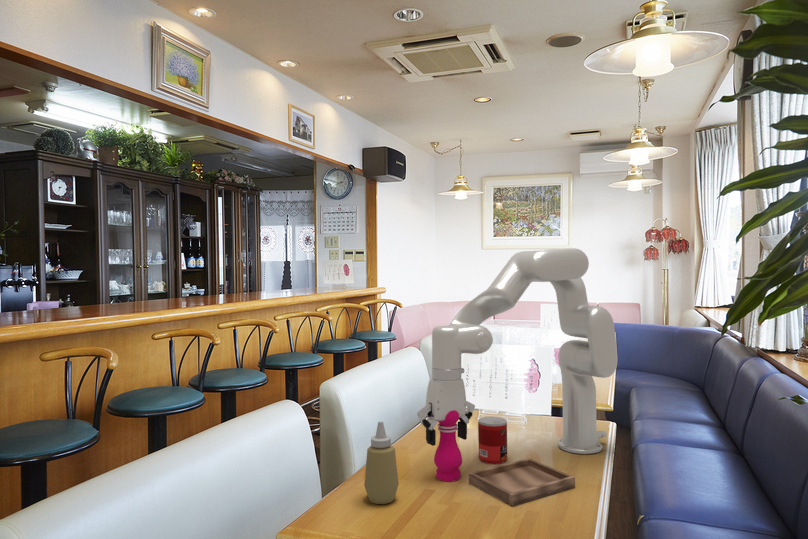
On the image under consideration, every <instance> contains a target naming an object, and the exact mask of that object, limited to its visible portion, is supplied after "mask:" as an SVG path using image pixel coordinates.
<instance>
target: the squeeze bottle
mask: <svg viewBox="0 0 808 539" xmlns="http://www.w3.org/2000/svg"><path fill="white" fill-rule="evenodd" d="M375 432H376V433H375V435H374V436H372V437H371V438H370V446H368V448H367V449H366V461H365V463H366V464H365V474H364V484H363V486H364V489H365V492H366V494H367V498H368V501H369V502H371V503H372V504H376V505H386V504H390V503H391V502H393V501H395V498H396V494H397V491H398V489H399V484H400V483H399V474H398V466H397V457H396V448H395V447H394V446H393V445H392V442H391V440H392V438H391V436H390V435H387V434H386V429H385V424H384V422H383V421H378V422H377V426H376V430H375Z"/></svg>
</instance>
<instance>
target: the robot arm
mask: <svg viewBox="0 0 808 539" xmlns="http://www.w3.org/2000/svg"><path fill="white" fill-rule="evenodd" d="M589 263H590V262H589V258H588V255H587V254H586V253H585V252H584V251H583V250H582V249H578V248H573V247H572V248H571V247H570V248H554V249H553V248H552V249H544V250H542V249H541V250H525V251H519V252H516V253H514V254H513V255H512V256H511V257H510V259H508V261H507V263H506V264H505V265H504V266H503V267H502V269H501V270H500V272H499V273H498V274H497V275H496V277H495V278H494V280H493V281H492V282H491V284H490V285H489V286H488V287H487V289H485V290H483V291H482V292H481V293H479V294H478V295H477V296H475V297H474V298H473V299H471V300H470V301H469V302H467V303H466V304H465V305H464V306H463V307H462V308H461V309H460V310H458V312H457V313H456V315H455V316H454V317H453V319H451V322H450V323H449V325H438V326H434V328H432V332H431V376H432V377H431V379H429V380H428V385H427V389H426V396H425V406H423V407H422V408H421V409H419V410H418V411H417V412H416V416H417V417H418V420H419V422H420V424H422V426H423V427H424V428H425V440H426V444H428V445H430V446H436V442H437V441H436V439H437V438H436V434H437V433H436V429H435V427H436V425H438V424H437V423H439V422H438V421H443V420H445V417H446V415H447V414H448V412H450V411H452V410H456V411H457V412H458V413H459V420H458V421H457V437H458V438H459V439H462V440H467V438H468V424H469V423H470V420H471V418H472V417H473V413H474V411H475V408H476V404H474V403H471V402H470V401H469V400H467V396H466V395H467V394H466V389H465V388H466V387H465V383H464V379H463V378H462V374H464V373H465V369H464V368H463V367H462V354H469V355H470V354H472V355H481V354H484V353H486V352H487V351H488V350H489V349H490V348H491V347H492V344H493V340H494V339H493V335H492V333H491V331H490V330H489V329H488V328H487V327H485V326H482V325H481V324H482V323H483V322H485V321H486V320H488V319H490V318H491V317H494V316H497V315H500V314H503V313H505V312H508V311H509V310H512V309H513V308H514V307H515V306H516V304H517V303H518V301H519V300H520V298H521V297H522V296H523V294H524V293H525V292H526V290H527V289H528V288H529V286H530V284H532V283H533V282H534V283H537V282H538V283H548V282H549V283H550V284H551V285H552V288H553V289H554V291H555V295H556V301H557V311H558V319H559V326H560V329H561V331H562V333H563V334H565V335H566V336H568V337H569V336H570V337H574V338H583V339H587V341H586V340H579V339H574V340H573V339H571V340H567V341H565V342H564V343H562V345H561V346H560V347H559V350H558V363H559V364H558V365H559V368H560V374H561V385H562V386H561V388H562V392H561V393H562V396H561V397H562V438H559V439H558V441H557V446H558V448H559V449H561V450H562V451H566V452H568V453H573V454H580V455H591V454H597V453H600V452H601V451H602V450H603V444H602V443H601V442H600V441H599V440H600V439H602V438H606V437H607V435H608V433H607V431H606V430H600V431H598V430H597V425H598V424H597V388H596V383H595V380H594V378H593V377H595V378H599V379H600V378H601V379H602V378H603V379H605V378H609V377H611V376H613V374H615V372H616V370H617V367H618V358H619V357H618V349H617V348H618V347H617V338H616V337H617V336H616V330H615V323H614V319H613V317H612V315H611V313H610V311H609V310H608V309H606V308H605V307H603V306H600V305H591V304H589V301H588V294H587V289H586V285H585V282H584V280H583V279H582V277H584V276H585V274H586V273H587V272H588V269H589V265H590V264H589ZM426 418H427V419H426Z"/></svg>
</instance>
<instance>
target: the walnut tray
mask: <svg viewBox="0 0 808 539" xmlns="http://www.w3.org/2000/svg"><path fill="white" fill-rule="evenodd" d="M468 484H469V485H471V486H473V487H474V488H477V489H479V490H480V491H483V492H485V493H486V494H488V495H490V496H492V497H494V498H495V499H497V498H498V500H500V501H501V502H503V503H505V504H507V505H509V506H511V507H515V506H518V505H522V504H524V503H525V502H526V503H528V501H529V502H532V501H535V500H539V499H541V498H545V497H548V495H549V496H552V495H554V494H559V493H561V492H565V491H568V490H572V489H574V487H575V488H576V477H575V476H573V475H571V474H569V473H565V472H563V471H562V470H558V469H556V468H553V467H551V466H549V465H546V464H544V463H541V462H539V461H537V460H534V459H532V458H529V457H528V458H525V459H524V458H523V459H519V460H515V461H512V462H508V463H502V464H500V465H499V464H498V465H496V466H491V467H487V468H483V469H480V470H476V471H472V472H468ZM571 488H572V489H571ZM526 503H525V504H526Z"/></svg>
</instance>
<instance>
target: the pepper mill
mask: <svg viewBox="0 0 808 539" xmlns="http://www.w3.org/2000/svg"><path fill="white" fill-rule="evenodd" d="M458 422H459V413H458V412H457V411H456V410H452V411H450V412H448V414H447V415H446V417H445V420H443V421H438V422H437V423H438V424H437V430H438V432H439V442H438V445H437V448H436V450H435V452H434V456H433V457H434V458H433V461H434V462H433V463H434V465H435V466H436V467H437V469H436V471H435V477H436V479H437V480H439V481H443V482H456V481H458V480H460V479H461V478H462V477H461V473H462V472H461V469H460V468H461V466H462V463H463V456H462V452H461V450H460V448H459V445H458V443H457V435H456V434H457V432H458Z"/></svg>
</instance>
